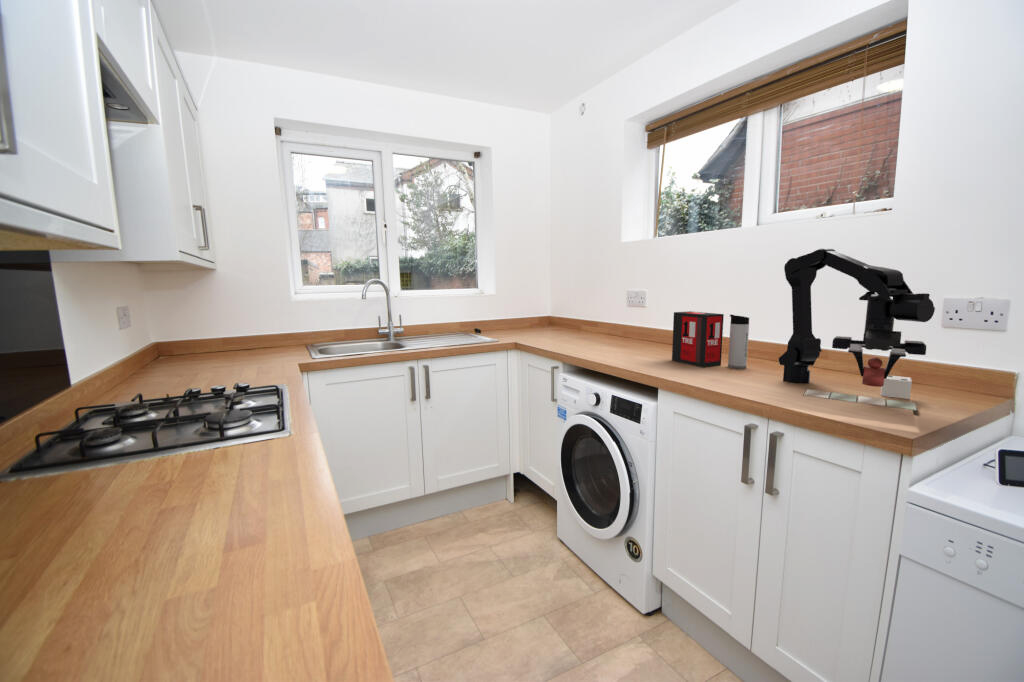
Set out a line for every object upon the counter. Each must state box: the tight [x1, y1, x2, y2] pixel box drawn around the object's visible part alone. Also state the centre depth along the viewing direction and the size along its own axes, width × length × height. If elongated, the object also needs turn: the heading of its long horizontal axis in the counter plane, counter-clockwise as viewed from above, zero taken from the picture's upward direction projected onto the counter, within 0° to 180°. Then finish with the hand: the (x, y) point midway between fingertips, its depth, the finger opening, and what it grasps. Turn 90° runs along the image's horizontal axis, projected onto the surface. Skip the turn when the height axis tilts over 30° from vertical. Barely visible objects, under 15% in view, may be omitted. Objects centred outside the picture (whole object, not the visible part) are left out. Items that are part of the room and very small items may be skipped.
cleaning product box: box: [671, 311, 725, 369], centre depth 176 cm, size 16×9×20 cm, turn 24°
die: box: [880, 374, 913, 400], centre depth 123 cm, size 6×6×6 cm
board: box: [802, 388, 919, 416], centre depth 120 cm, size 24×9×1 cm, turn 51°
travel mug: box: [727, 314, 750, 370], centre depth 167 cm, size 6×7×20 cm
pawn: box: [861, 357, 886, 388], centre depth 117 cm, size 4×4×7 cm
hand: (873, 377), depth 118 cm, fingers closed on pawn, 4 cm apart
